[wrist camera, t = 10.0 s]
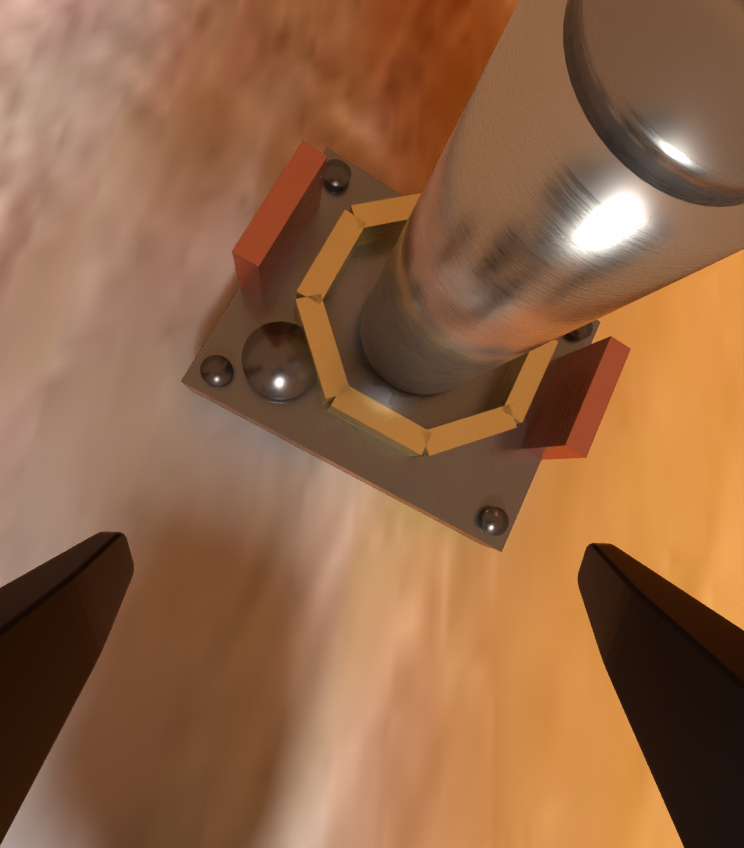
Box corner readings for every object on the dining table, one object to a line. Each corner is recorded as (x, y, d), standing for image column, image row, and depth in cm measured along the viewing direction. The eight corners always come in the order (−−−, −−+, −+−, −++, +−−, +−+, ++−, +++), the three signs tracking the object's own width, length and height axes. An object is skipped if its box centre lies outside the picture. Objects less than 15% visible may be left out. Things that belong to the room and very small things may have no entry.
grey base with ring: (481, 544, 21) (541, 566, 16) (191, 390, 19) (160, 363, 14) (575, 330, 23) (653, 293, 18) (325, 173, 21) (338, 85, 16)
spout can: (458, 415, 19) (847, 292, 6) (340, 363, 18) (492, 89, 5) (517, 250, 21) (934, -140, 8) (410, 195, 20) (668, -353, 7)
